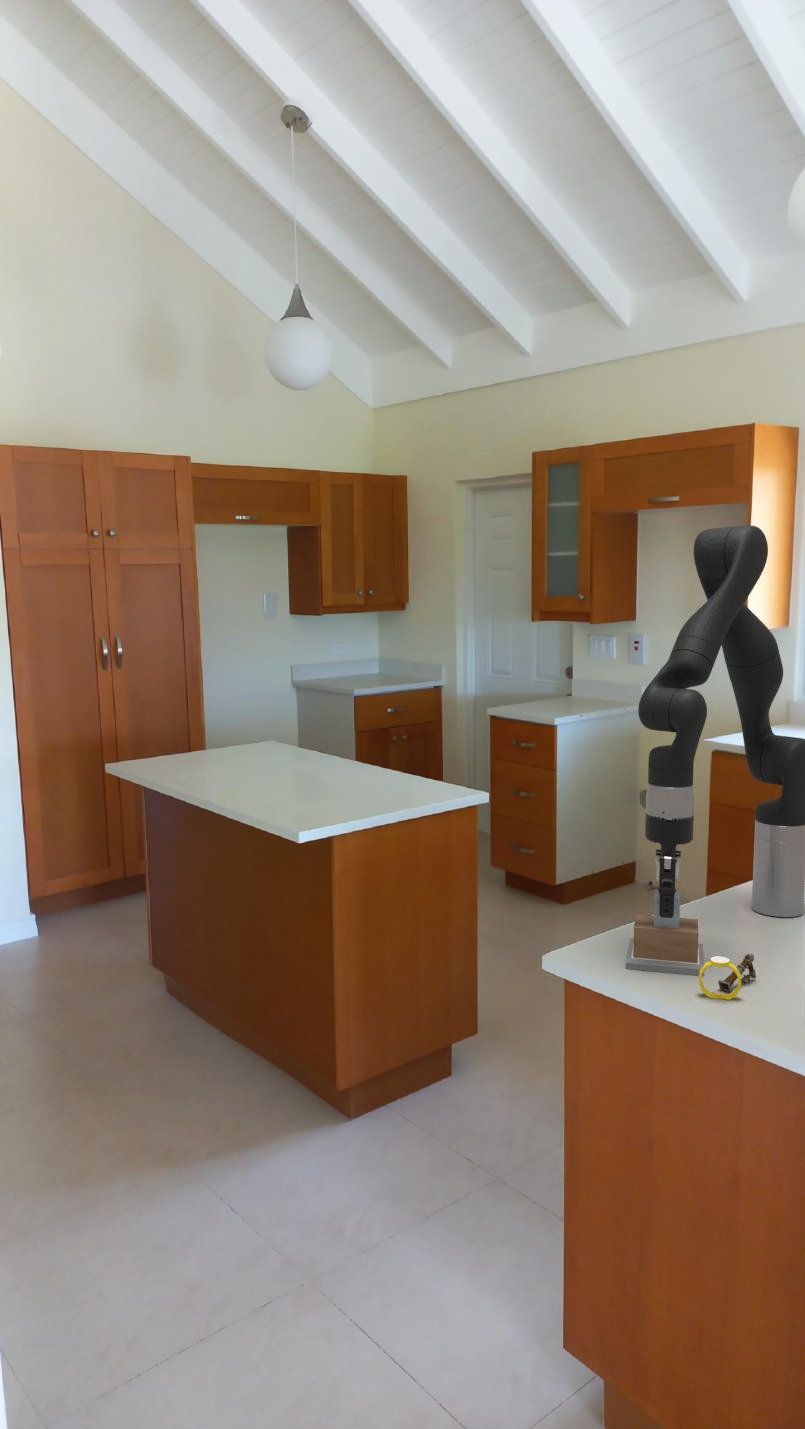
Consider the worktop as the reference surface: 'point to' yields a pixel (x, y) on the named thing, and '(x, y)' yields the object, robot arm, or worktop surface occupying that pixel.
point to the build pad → (664, 963)
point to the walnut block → (666, 940)
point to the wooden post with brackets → (741, 968)
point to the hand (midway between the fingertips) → (666, 908)
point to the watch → (720, 962)
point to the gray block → (667, 922)
